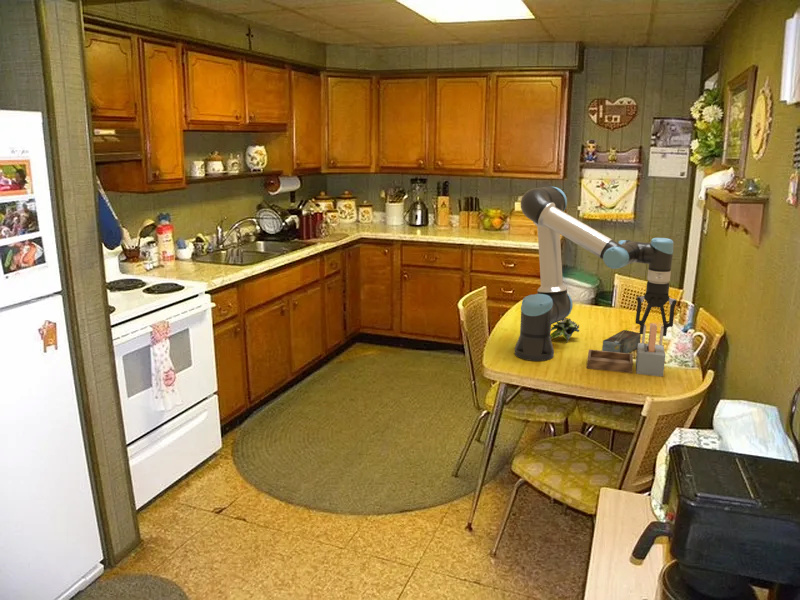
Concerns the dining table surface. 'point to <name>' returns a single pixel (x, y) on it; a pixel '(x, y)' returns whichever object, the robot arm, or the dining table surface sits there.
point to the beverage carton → (622, 342)
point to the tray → (610, 361)
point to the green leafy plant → (564, 329)
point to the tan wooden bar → (652, 337)
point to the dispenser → (650, 360)
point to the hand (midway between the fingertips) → (651, 343)
